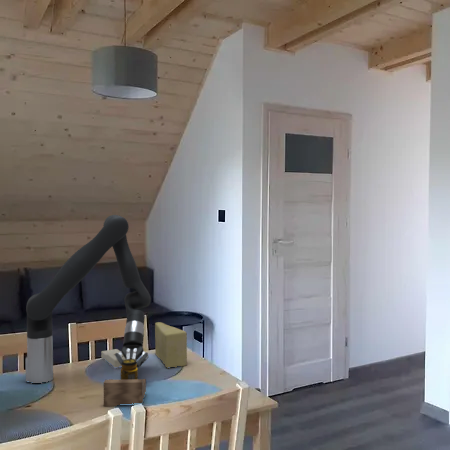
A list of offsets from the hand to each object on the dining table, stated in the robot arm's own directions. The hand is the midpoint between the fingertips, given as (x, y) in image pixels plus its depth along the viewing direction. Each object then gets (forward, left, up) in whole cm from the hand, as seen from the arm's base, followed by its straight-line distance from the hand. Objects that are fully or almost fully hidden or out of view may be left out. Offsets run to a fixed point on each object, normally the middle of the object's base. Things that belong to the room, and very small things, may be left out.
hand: (129, 377), depth 187 cm
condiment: (0, -4, -5) cm, 7 cm away
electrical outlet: (-11, +34, -5) cm, 36 cm away
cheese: (+11, +35, -5) cm, 37 cm away
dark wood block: (0, -9, -5) cm, 10 cm away
